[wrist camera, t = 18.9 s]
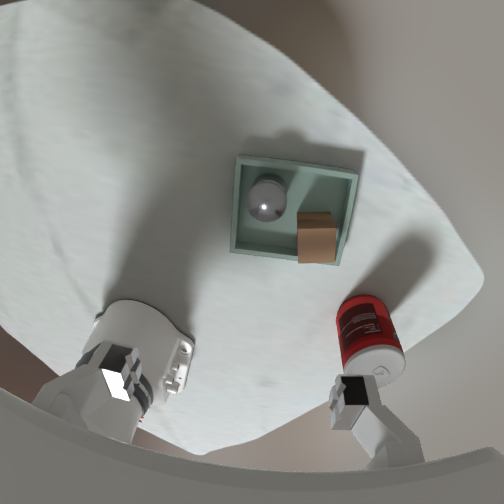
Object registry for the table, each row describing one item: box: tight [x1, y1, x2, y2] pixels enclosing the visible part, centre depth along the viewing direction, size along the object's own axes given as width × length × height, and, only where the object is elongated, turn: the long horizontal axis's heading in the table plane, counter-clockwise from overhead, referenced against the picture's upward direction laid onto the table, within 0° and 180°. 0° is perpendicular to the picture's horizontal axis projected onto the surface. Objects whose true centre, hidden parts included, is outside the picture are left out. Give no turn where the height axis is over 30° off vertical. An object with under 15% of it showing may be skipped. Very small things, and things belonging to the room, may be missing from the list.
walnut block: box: [296, 212, 336, 263], centre depth 34 cm, size 4×4×5 cm
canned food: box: [336, 295, 406, 388], centre depth 37 cm, size 8×8×11 cm
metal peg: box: [246, 173, 287, 222], centre depth 33 cm, size 4×4×5 cm
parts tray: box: [230, 155, 359, 266], centre depth 35 cm, size 11×13×2 cm
